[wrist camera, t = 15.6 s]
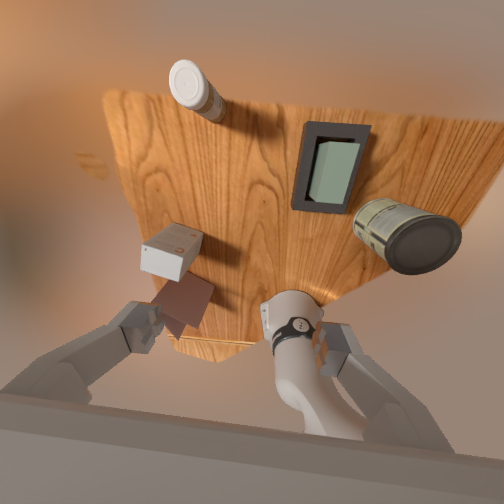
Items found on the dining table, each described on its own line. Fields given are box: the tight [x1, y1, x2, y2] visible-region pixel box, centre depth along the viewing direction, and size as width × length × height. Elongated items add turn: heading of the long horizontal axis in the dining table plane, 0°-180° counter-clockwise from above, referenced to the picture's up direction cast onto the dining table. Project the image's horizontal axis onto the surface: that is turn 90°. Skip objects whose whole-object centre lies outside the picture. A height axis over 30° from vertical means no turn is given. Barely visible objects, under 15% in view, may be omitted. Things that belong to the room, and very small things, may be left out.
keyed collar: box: [291, 121, 372, 214], centre depth 36 cm, size 15×10×4 cm
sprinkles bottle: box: [169, 60, 226, 123], centre depth 28 cm, size 5×5×14 cm
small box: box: [141, 222, 204, 282], centre depth 41 cm, size 8×6×13 cm
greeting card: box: [151, 271, 215, 340], centre depth 46 cm, size 11×7×15 cm, turn 22°
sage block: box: [307, 142, 360, 204], centre depth 34 cm, size 4×9×9 cm, turn 176°
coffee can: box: [353, 198, 462, 275], centre depth 35 cm, size 10×10×14 cm
